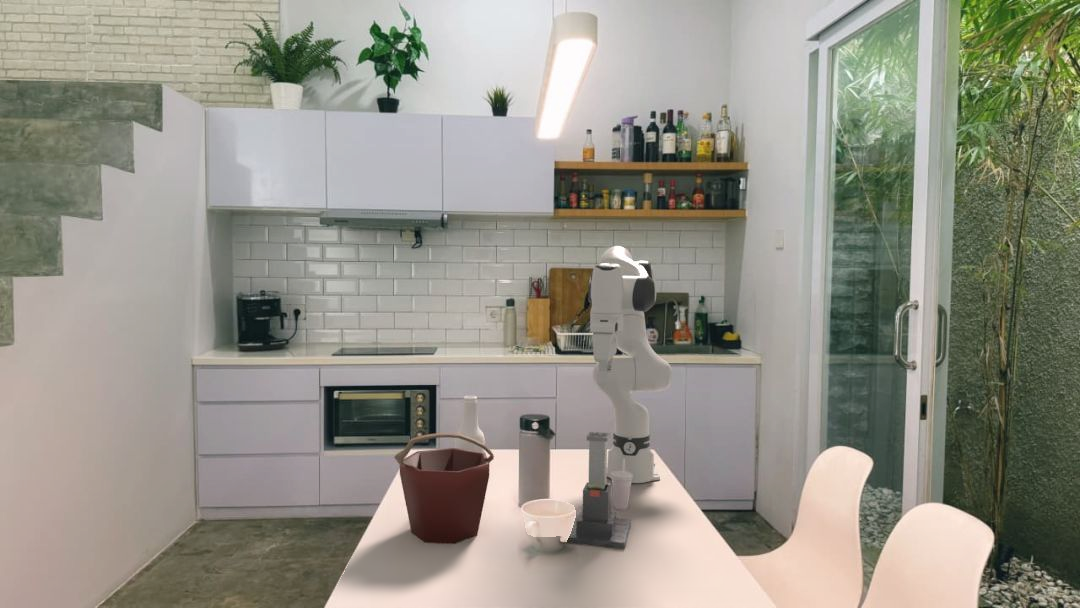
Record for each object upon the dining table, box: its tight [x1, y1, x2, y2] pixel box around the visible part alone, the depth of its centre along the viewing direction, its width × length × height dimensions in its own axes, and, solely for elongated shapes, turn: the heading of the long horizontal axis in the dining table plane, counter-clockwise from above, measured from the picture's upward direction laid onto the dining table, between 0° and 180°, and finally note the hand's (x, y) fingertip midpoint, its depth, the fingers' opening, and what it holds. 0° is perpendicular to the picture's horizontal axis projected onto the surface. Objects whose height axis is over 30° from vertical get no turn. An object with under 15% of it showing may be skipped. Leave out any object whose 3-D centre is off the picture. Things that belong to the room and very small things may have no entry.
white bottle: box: [454, 395, 486, 453], centre depth 200 cm, size 9×9×30 cm
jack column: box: [586, 431, 611, 491], centre depth 174 cm, size 5×5×18 cm
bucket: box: [394, 432, 495, 545], centre depth 175 cm, size 24×22×25 cm
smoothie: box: [610, 459, 633, 511], centre depth 194 cm, size 6×6×14 cm
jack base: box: [566, 481, 632, 550], centre depth 175 cm, size 16×16×12 cm
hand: (605, 374), depth 185 cm, fingers open, 8 cm apart
